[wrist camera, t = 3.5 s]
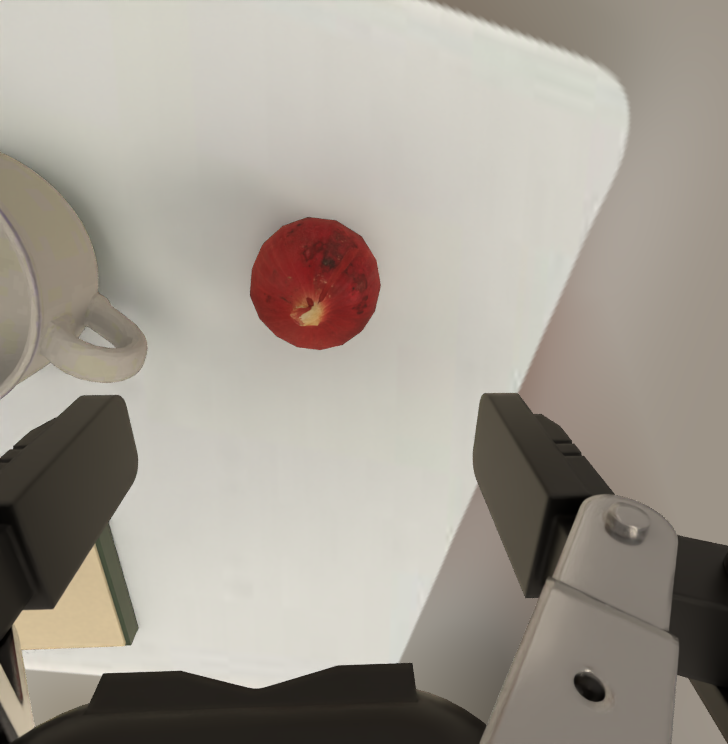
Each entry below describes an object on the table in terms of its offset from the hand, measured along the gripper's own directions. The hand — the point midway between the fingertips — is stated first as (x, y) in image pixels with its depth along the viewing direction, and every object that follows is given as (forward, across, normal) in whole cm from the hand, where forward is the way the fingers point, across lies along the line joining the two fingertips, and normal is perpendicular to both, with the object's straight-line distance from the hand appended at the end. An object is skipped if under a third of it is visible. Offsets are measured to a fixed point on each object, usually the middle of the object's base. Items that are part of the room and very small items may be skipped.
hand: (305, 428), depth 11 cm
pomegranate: (+16, 0, 0) cm, 16 cm away
